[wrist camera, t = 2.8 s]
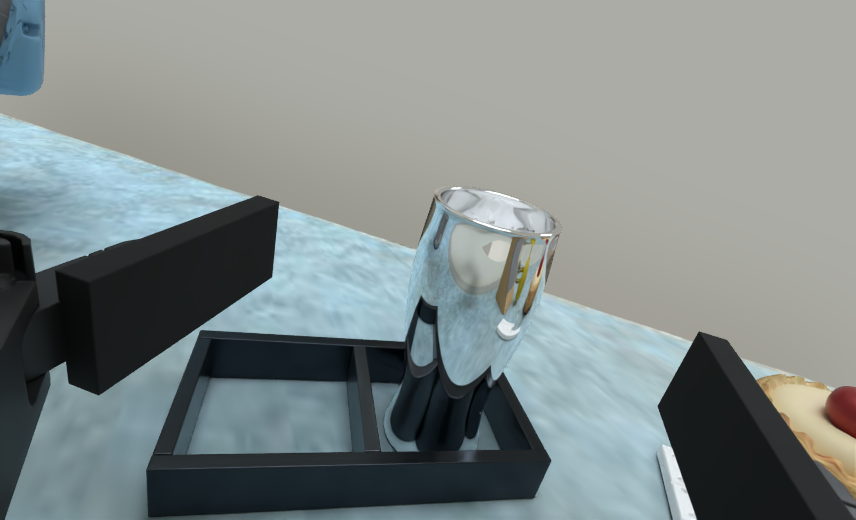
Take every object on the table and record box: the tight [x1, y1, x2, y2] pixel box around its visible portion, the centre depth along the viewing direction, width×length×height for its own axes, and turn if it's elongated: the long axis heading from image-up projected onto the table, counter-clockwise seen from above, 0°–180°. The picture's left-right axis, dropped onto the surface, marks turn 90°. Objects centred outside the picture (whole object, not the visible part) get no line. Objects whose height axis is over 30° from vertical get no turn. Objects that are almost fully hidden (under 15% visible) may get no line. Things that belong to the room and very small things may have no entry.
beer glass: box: [384, 186, 562, 452], centre depth 25 cm, size 7×7×15 cm
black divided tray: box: [146, 330, 551, 517], centre depth 27 cm, size 10×19×3 cm, turn 103°
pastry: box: [756, 374, 856, 500], centre depth 30 cm, size 12×12×9 cm
